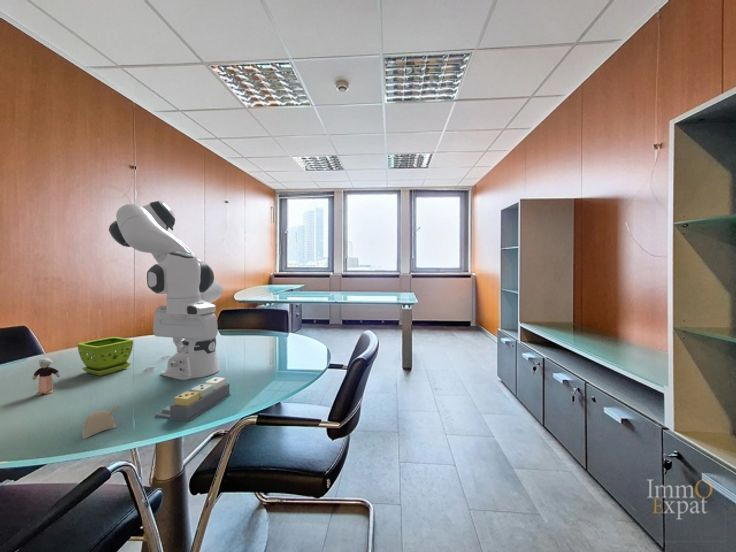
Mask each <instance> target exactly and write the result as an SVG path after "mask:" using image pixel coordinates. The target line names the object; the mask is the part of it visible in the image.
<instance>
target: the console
mask: <svg viewBox="0 0 736 552" xmlns="http://www.w3.org/2000/svg"><path fill="white" fill-rule="evenodd" d="M230 390H231V389H230V383H228V382H226V385H224V386H223V387H221V388H219V389H217V390H214V389H213V392H212V393H210V394H209V395H207V396H205V397H203V398H200V397H199V400H198V401H196V402H195V403H193V404H191V405H189V406H187V407H185V406H178V405H175V402H174V403H172V404H170V405H168V406H166V407H164V408H163V409H162V411H160V412H158V413H157V414H155V416H154V417H157V418H164V419H170V420H178V421H183V422H190V421H192V420H193V419H195V418H197V417H198V416H200V415H201V414H203V413H205V412H206V411H208V410H210V409H212V407H214V406H216V405H217V404H218V403H220V402H222V401H224V400H225V399H227V398H228V397H230V396H231V395H232V393H231V392H230Z"/></svg>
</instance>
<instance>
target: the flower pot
mask: <svg viewBox="0 0 736 552" xmlns="http://www.w3.org/2000/svg"><path fill="white" fill-rule="evenodd" d="M133 347H134V339H131V338H125V337H119V336H118V337H117V336H111V337H105V338H100V339H95V340H89V341H88V340H87V341H84V342H80V343H77V350H78V354H79V358H80V360H81V362H82V363H83V364H84V366H83V367H82V368H81V369H82V370H83V371H84V372H86V373H89V374H93V375H97V376H103V375H104V376H105V375H109V374H111V373H114V372H119V371H122V370H126V369H127V368H129V366H131V362H128V360H129V358H130V356H131V354H132V352H133Z"/></svg>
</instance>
